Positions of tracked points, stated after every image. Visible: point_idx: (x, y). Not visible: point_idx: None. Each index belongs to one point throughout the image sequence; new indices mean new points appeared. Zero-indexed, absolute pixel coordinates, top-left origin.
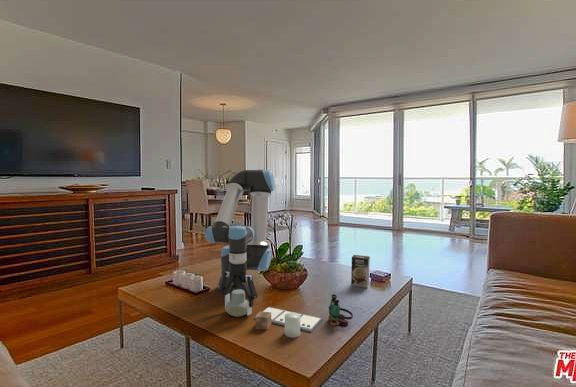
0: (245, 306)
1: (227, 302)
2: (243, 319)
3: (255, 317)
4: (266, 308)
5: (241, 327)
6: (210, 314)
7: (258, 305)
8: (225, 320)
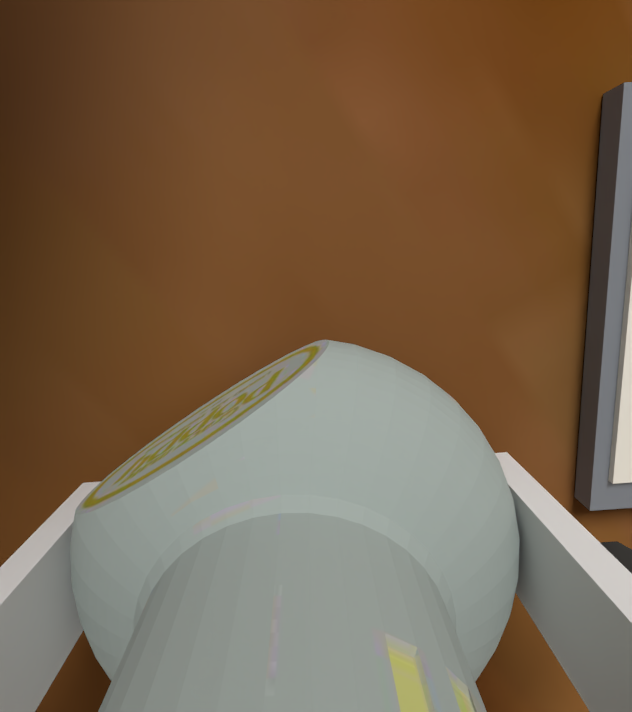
0: (504, 627)
1: (62, 625)
2: None
3: (604, 507)
4: (616, 172)
5: (548, 708)
6: None
7: (375, 75)
8: None
